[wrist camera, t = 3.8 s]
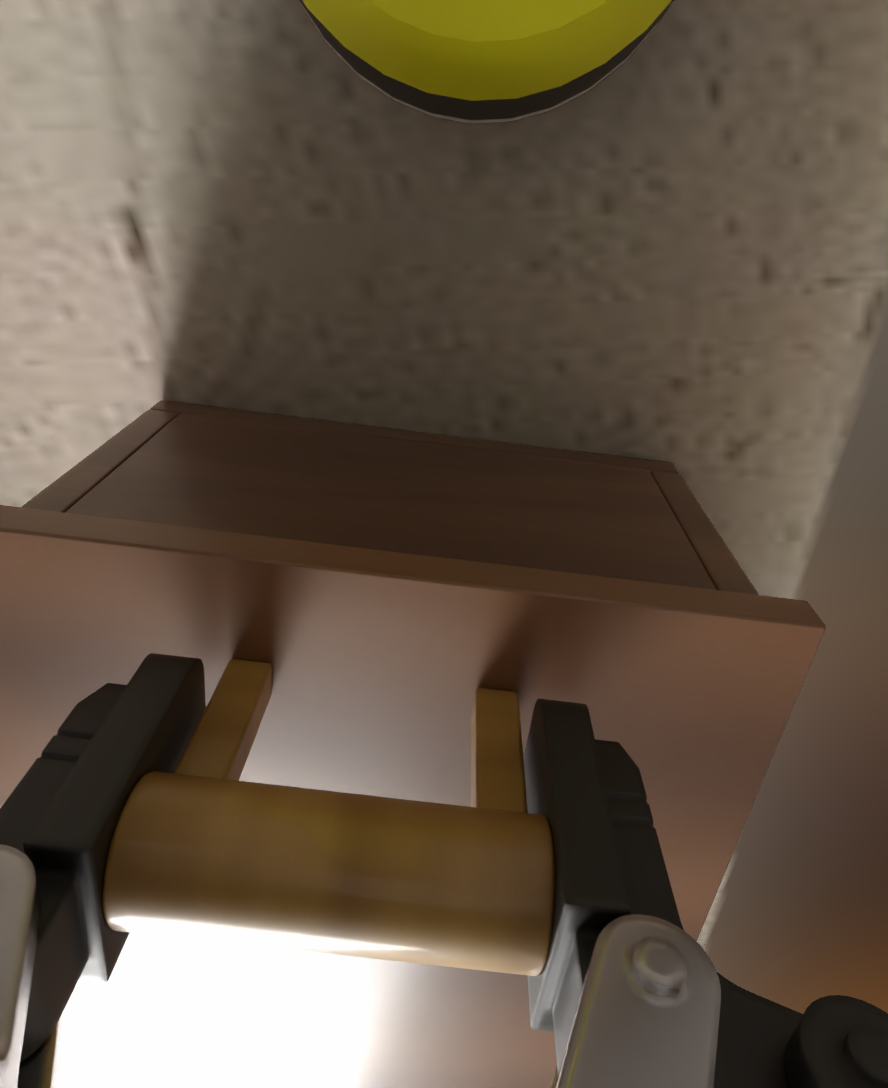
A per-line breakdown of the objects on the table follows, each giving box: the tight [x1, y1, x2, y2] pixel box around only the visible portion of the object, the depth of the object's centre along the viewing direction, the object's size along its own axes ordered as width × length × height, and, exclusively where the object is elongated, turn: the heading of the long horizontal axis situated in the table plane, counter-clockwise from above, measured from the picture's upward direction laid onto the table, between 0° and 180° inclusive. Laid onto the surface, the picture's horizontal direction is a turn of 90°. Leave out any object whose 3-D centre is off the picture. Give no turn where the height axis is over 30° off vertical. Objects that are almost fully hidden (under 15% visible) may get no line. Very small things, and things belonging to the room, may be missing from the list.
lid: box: [0, 505, 826, 1088], centre depth 13 cm, size 16×14×5 cm
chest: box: [21, 401, 759, 595], centre depth 20 cm, size 16×14×8 cm
